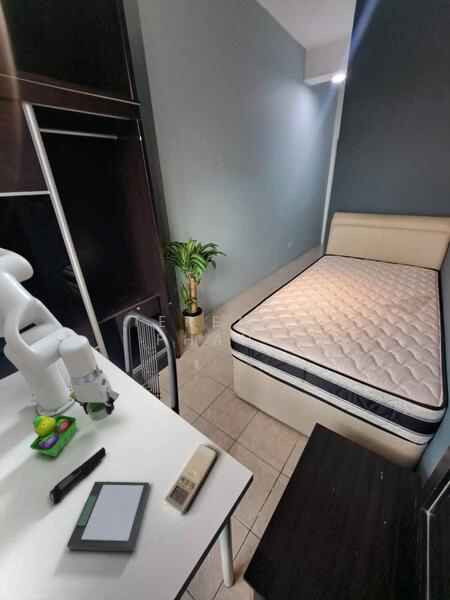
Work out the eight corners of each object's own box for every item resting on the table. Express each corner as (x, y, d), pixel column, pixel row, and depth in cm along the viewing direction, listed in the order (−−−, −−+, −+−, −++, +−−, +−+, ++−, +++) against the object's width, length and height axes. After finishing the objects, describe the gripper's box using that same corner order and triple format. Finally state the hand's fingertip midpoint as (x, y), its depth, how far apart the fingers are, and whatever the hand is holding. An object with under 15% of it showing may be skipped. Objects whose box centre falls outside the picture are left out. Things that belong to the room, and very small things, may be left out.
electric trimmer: (110, 457, 75) (107, 451, 74) (55, 506, 65) (50, 500, 63) (103, 449, 78) (100, 443, 76) (49, 496, 67) (45, 489, 65)
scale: (70, 549, 57) (65, 544, 56) (97, 485, 69) (94, 480, 67) (133, 551, 56) (130, 546, 55) (150, 486, 68) (148, 481, 66)
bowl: (86, 421, 81) (82, 413, 79) (96, 403, 87) (93, 395, 85) (106, 422, 81) (102, 413, 79) (115, 404, 87) (112, 395, 85)
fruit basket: (55, 462, 75) (40, 439, 69) (32, 455, 77) (15, 433, 71) (82, 427, 84) (70, 405, 79) (61, 422, 86) (48, 401, 81)
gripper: (118, 364, 78) (129, 401, 87) (64, 363, 78) (81, 400, 87) (107, 383, 71) (121, 421, 80) (49, 382, 72) (69, 420, 81)
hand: (100, 410), depth 84 cm, fingers closed on bowl, 6 cm apart
